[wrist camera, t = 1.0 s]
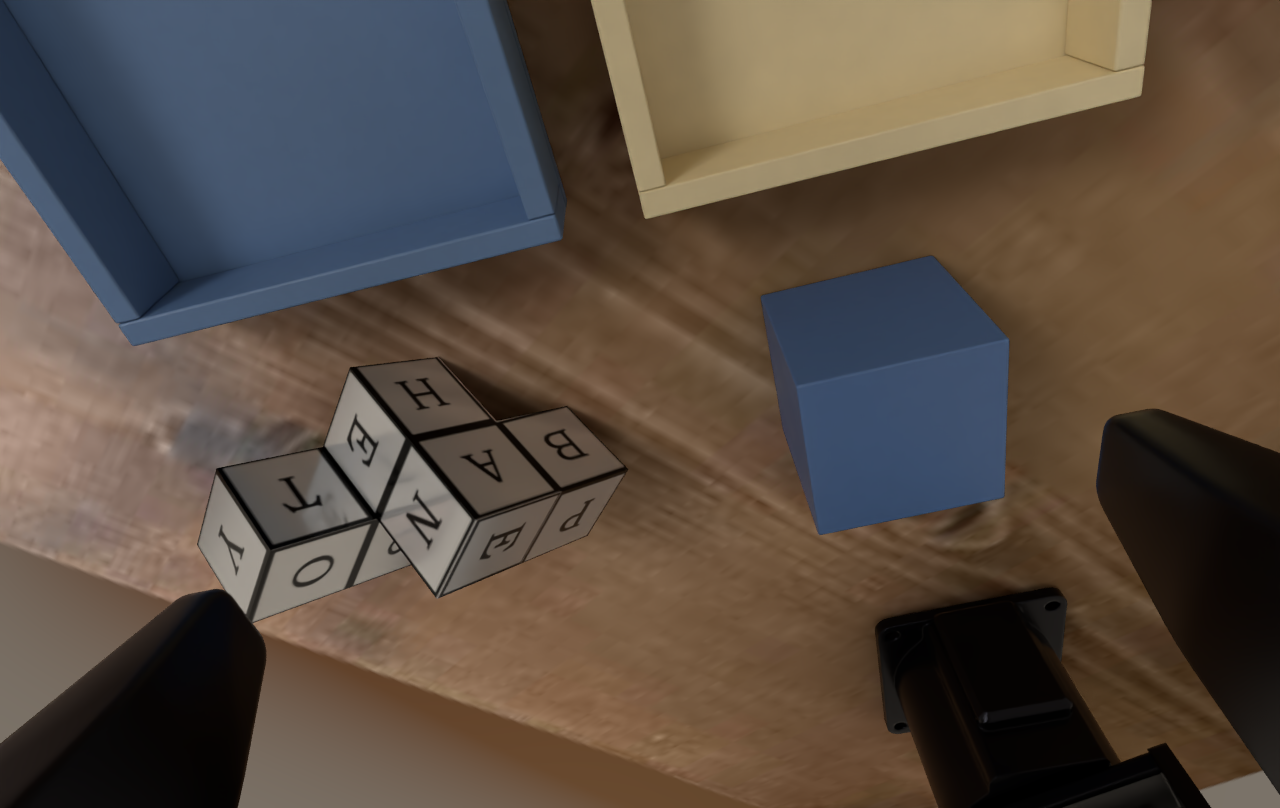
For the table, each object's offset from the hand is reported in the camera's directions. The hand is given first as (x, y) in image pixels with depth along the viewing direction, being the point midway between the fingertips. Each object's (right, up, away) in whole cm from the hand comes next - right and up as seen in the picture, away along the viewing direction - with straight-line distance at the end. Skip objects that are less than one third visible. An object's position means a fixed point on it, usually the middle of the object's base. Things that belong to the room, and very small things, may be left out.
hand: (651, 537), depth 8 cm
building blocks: (-6, 0, +15) cm, 16 cm away
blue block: (+6, +3, +13) cm, 15 cm away
